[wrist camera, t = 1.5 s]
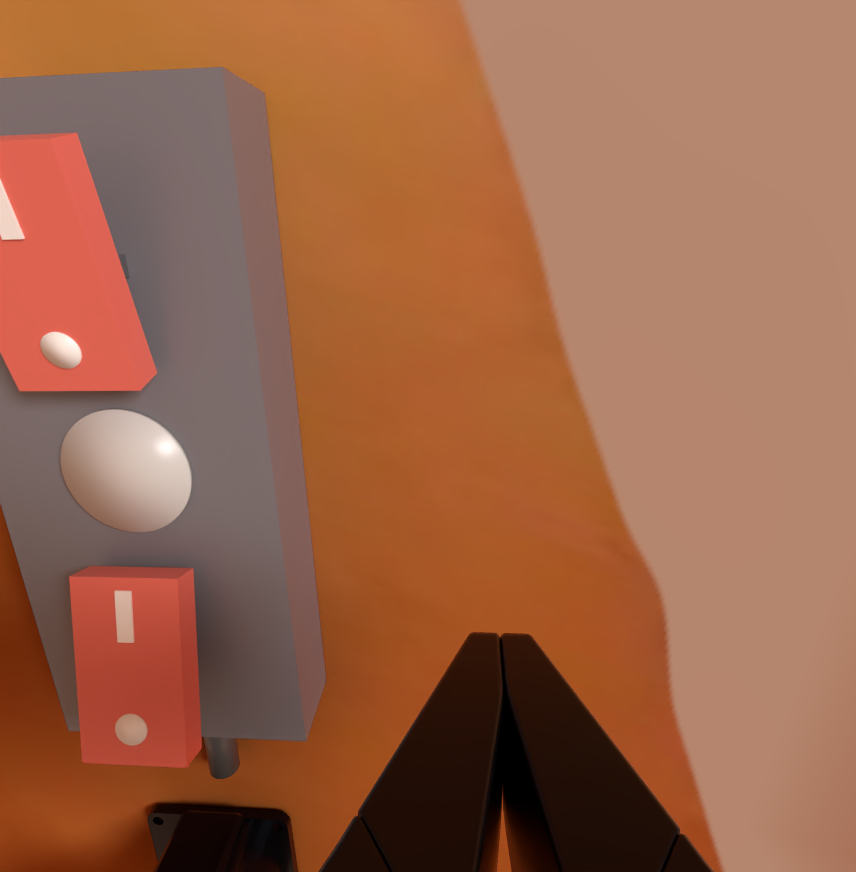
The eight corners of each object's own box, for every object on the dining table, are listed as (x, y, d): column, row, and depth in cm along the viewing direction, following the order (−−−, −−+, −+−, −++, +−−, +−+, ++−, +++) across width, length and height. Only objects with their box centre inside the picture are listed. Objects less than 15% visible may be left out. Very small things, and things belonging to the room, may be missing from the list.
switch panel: (334, 755, 25) (312, 836, 22) (133, 746, 26) (82, 823, 23) (264, 92, 17) (211, 59, 14) (-30, 106, 18) (-150, 78, 14)
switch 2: (201, 747, 19) (185, 769, 18) (102, 743, 19) (80, 764, 18) (193, 568, 19) (175, 579, 17) (90, 565, 19) (67, 577, 18)
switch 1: (157, 373, 16) (139, 391, 16) (42, 373, 17) (17, 392, 16) (76, 132, 13) (48, 139, 12) (-66, 138, 13) (-104, 145, 12)
